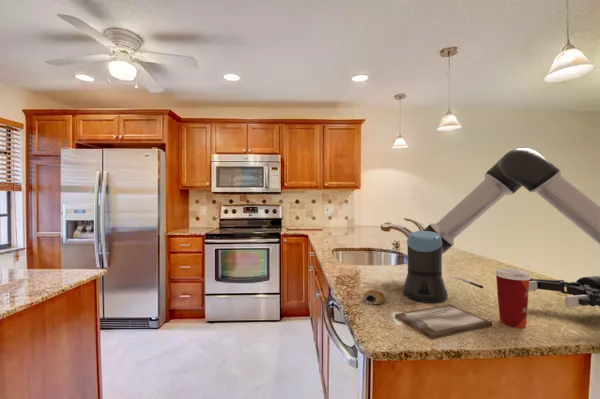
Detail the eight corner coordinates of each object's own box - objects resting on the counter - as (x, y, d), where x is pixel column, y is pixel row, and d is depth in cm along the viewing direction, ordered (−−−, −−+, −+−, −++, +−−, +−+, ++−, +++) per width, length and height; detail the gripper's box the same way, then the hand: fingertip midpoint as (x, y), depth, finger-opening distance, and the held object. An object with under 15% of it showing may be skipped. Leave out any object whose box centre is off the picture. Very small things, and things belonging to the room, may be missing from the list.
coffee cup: (538, 331, 75) (537, 275, 75) (503, 328, 77) (503, 274, 77) (520, 318, 83) (519, 268, 83) (489, 316, 85) (489, 267, 85)
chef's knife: (456, 276, 131) (450, 276, 131) (456, 274, 131) (450, 274, 131) (488, 289, 112) (481, 288, 112) (488, 286, 112) (482, 286, 112)
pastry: (370, 295, 105) (370, 285, 105) (388, 298, 101) (388, 288, 101) (361, 303, 97) (361, 292, 97) (380, 307, 93) (380, 295, 93)
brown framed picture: (395, 317, 84) (395, 311, 84) (449, 307, 91) (449, 301, 92) (431, 339, 71) (431, 331, 71) (491, 325, 78) (491, 318, 78)
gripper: (657, 317, 73) (592, 324, 69) (554, 288, 97) (503, 292, 94) (656, 289, 73) (592, 294, 69) (554, 267, 97) (502, 270, 94)
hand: (540, 293), depth 81 cm, fingers open, 13 cm apart
